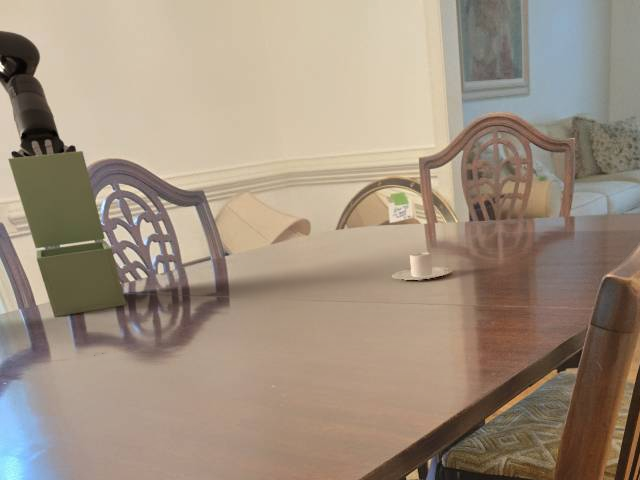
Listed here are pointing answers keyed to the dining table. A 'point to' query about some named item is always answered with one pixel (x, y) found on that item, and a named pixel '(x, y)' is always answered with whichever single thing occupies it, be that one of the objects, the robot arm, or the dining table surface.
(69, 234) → the lid
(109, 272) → the chest
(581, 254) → the dining table surface
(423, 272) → the candle holder
